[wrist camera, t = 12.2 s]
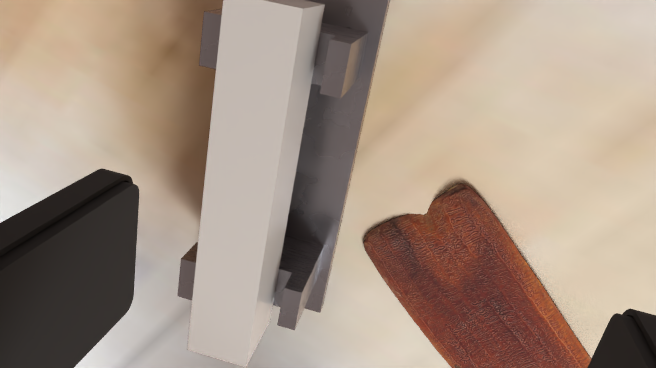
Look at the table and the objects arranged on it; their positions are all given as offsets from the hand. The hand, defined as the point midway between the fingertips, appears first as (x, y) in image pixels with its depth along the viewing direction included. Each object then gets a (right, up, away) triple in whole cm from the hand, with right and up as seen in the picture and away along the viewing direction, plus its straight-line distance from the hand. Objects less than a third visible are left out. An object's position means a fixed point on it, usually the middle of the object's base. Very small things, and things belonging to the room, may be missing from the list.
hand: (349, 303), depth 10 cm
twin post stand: (-3, +5, +30) cm, 30 cm away
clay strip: (-5, +3, +24) cm, 25 cm away
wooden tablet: (+13, -10, +33) cm, 37 cm away
